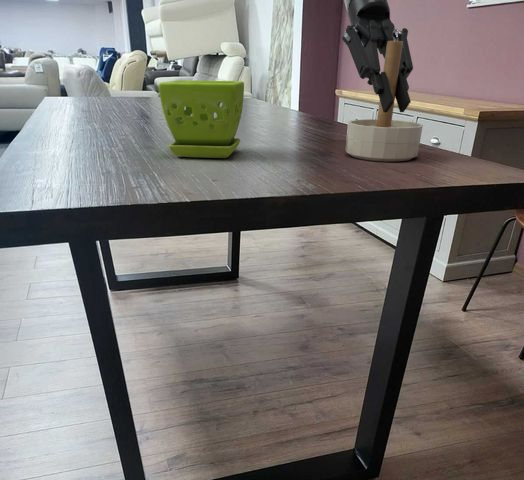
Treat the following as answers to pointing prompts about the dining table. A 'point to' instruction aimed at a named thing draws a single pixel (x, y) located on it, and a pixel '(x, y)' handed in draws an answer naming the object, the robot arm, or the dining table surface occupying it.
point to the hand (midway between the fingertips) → (397, 106)
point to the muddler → (390, 80)
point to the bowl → (383, 140)
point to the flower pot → (202, 116)
